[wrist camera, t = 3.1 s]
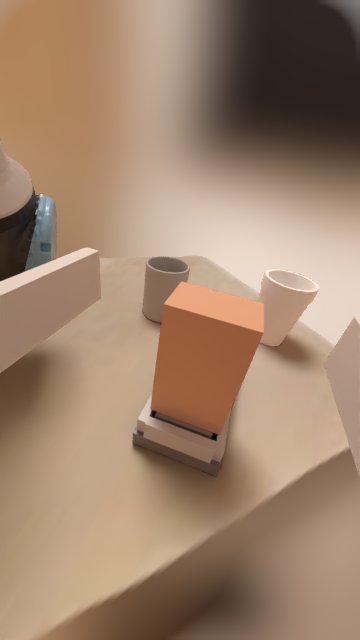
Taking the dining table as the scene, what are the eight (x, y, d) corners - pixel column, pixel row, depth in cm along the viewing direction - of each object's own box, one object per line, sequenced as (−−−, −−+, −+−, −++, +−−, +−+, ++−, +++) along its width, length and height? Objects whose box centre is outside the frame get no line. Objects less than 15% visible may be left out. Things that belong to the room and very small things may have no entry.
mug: (189, 319, 51) (198, 271, 45) (153, 327, 47) (158, 275, 41) (162, 293, 59) (168, 249, 53) (130, 297, 55) (132, 251, 49)
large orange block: (214, 449, 26) (263, 336, 18) (147, 423, 27) (161, 306, 19) (222, 406, 31) (263, 301, 22) (165, 385, 32) (183, 279, 24)
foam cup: (278, 358, 45) (310, 297, 38) (236, 334, 49) (256, 275, 42) (295, 338, 51) (324, 283, 44) (256, 318, 56) (276, 265, 49)
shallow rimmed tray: (216, 476, 26) (227, 455, 24) (132, 442, 28) (134, 419, 25) (238, 344, 46) (244, 325, 44) (189, 329, 48) (193, 310, 46)
